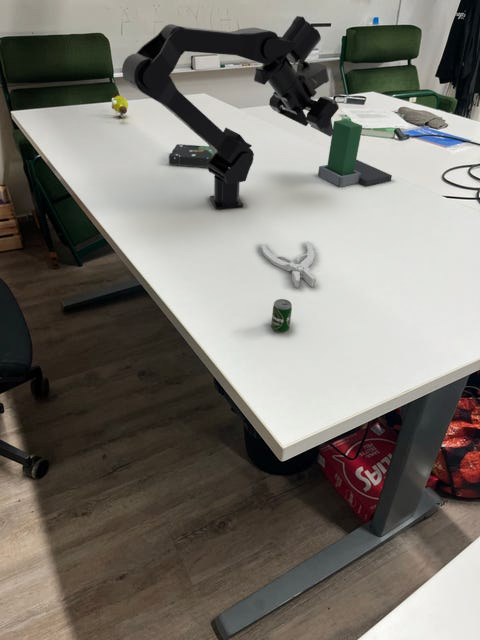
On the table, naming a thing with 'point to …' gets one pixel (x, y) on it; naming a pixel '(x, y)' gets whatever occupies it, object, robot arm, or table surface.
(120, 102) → the toy figure
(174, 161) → the disk drive
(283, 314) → the beer can
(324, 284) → the table surface
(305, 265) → the pliers
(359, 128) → the green rectangular block
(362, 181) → the compartment tray
